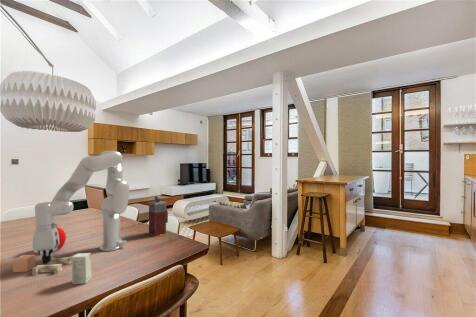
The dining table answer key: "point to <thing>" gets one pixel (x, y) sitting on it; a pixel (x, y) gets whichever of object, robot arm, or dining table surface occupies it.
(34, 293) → the dining table surface
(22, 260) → the block
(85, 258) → the skincare box
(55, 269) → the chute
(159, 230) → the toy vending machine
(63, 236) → the tomato
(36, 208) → the robot arm
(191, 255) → the dining table surface
